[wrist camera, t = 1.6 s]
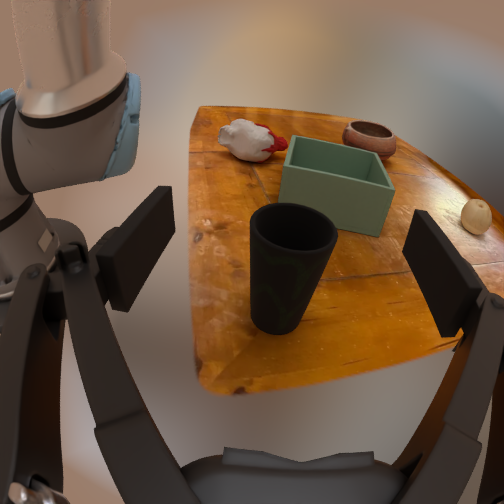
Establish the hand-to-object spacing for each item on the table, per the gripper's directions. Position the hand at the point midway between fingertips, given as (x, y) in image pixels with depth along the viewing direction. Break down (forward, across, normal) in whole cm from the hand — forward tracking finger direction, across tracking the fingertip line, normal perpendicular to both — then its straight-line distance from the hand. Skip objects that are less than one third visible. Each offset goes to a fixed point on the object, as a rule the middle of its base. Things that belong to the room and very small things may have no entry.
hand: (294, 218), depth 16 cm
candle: (+55, -7, -13) cm, 57 cm away
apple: (+39, +44, -17) cm, 61 cm away
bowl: (+70, +24, -13) cm, 75 cm away
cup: (+10, 0, -17) cm, 20 cm away
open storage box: (+38, +9, -15) cm, 42 cm away
